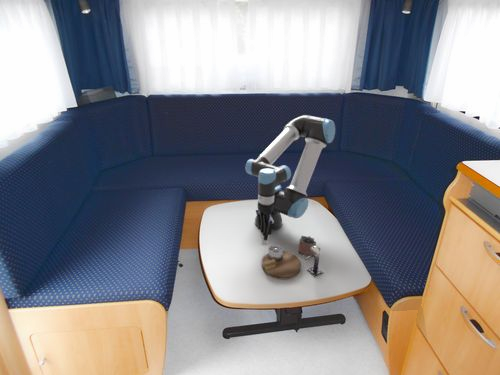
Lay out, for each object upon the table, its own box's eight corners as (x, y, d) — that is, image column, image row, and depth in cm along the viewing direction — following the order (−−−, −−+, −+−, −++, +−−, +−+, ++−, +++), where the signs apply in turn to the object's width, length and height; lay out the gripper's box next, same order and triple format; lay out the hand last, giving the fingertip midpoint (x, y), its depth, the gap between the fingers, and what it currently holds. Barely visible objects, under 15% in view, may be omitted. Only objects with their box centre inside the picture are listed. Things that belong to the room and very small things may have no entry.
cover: (265, 255, 164) (265, 246, 162) (277, 251, 167) (277, 242, 165) (274, 263, 159) (274, 254, 156) (286, 258, 162) (286, 250, 160)
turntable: (254, 261, 163) (254, 253, 161) (284, 249, 172) (285, 241, 169) (277, 284, 149) (277, 275, 147) (308, 269, 158) (310, 261, 156)
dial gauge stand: (301, 273, 157) (304, 246, 150) (315, 267, 161) (318, 241, 154) (308, 279, 153) (311, 252, 147) (323, 273, 157) (326, 246, 151)
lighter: (315, 253, 170) (317, 236, 165) (314, 257, 167) (316, 240, 163) (299, 250, 172) (300, 233, 168) (297, 254, 169) (299, 237, 165)
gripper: (251, 198, 162) (250, 240, 172) (267, 209, 152) (265, 253, 162) (264, 194, 166) (262, 235, 176) (281, 205, 156) (278, 248, 166)
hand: (264, 244), depth 169 cm, fingers closed
